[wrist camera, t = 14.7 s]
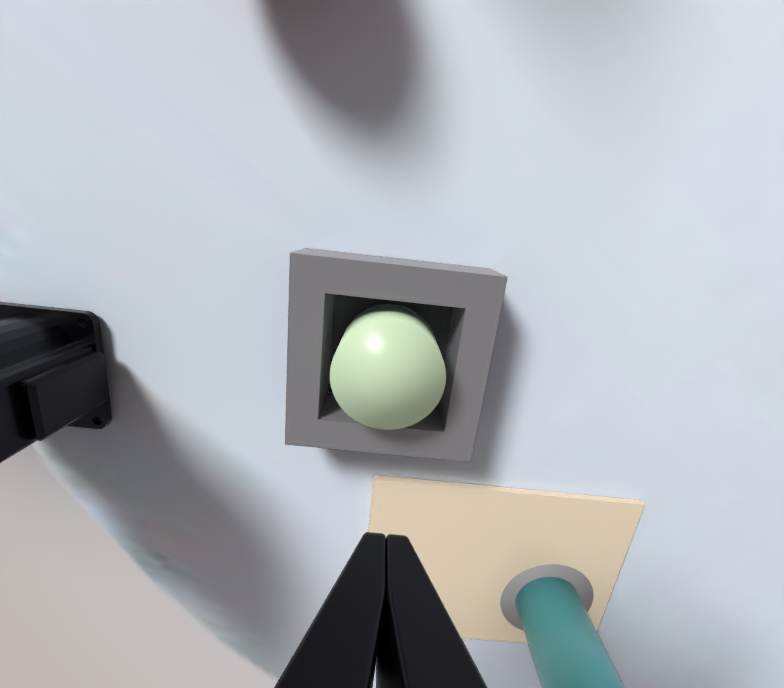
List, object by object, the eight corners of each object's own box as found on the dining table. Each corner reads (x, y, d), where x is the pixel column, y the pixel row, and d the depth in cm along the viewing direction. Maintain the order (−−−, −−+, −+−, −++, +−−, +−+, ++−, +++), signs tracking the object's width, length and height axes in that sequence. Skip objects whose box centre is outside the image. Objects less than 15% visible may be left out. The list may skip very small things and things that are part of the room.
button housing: (299, 414, 21) (284, 444, 18) (305, 248, 18) (290, 252, 15) (460, 430, 21) (470, 462, 18) (489, 268, 19) (507, 276, 16)
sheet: (357, 623, 26) (357, 629, 25) (374, 475, 22) (374, 479, 22) (587, 642, 26) (590, 648, 26) (640, 499, 23) (644, 504, 22)
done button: (337, 390, 20) (326, 424, 16) (344, 298, 18) (333, 316, 15) (429, 399, 20) (436, 435, 16) (443, 309, 18) (454, 328, 15)
